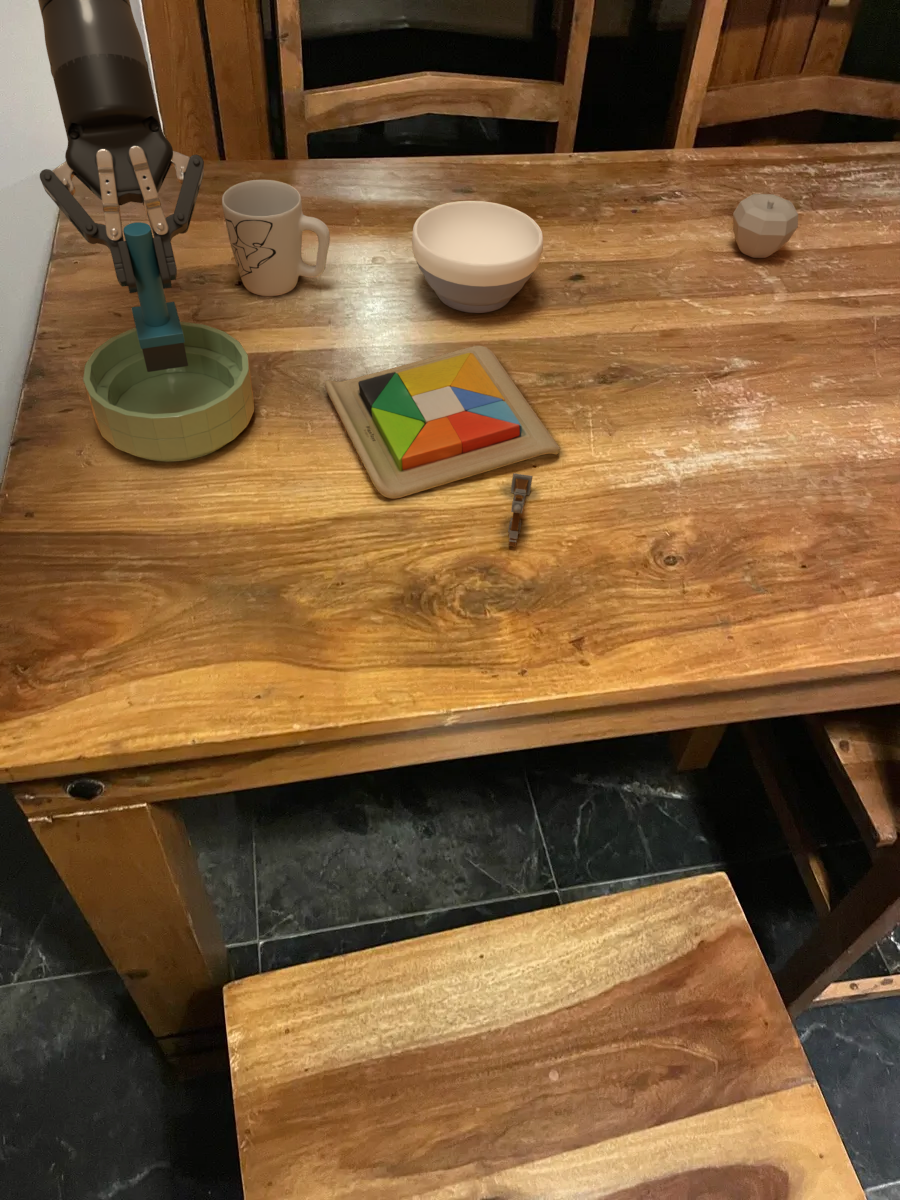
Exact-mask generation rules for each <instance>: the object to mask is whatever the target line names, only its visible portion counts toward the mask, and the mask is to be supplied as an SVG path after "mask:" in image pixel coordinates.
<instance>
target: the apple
mask: <svg viewBox="0 0 900 1200" xmlns="http://www.w3.org/2000/svg"><path fill="white" fill-rule="evenodd" d="M798 228H799V212H798V211H797V209H796V207H795V205H794V203H793V202H792V201H791V200H789V199H787V198H783V197H781V196H780V195H777V194H774V193H752V194H751V195H748V196H747V197H745V198H744V199H742V200H740V201H739V203H738V205H737V206H736V208H735V210H734V211H733V213H732V232H733V235H734V239H735V242H736V245H737V248H738V249H739V251H740V252H741V253H742V254H744V255H745V256H747V257H751V258H753V259H766V258H768V257H770V256H771V255H773V254H775V253H776V252H778V251H779V250H780V249H782V248H783V247H784V246H785V245H786V244H787V243H788V242H789V241H790V239H791V238H792V237H793V235H794V233H795V232H796V231H797V229H798Z"/></svg>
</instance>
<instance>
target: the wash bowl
mask: <svg viewBox="0 0 900 1200" xmlns="http://www.w3.org/2000/svg"><path fill="white" fill-rule="evenodd" d="M180 324H181V327H182V331H183V335H184V340H185V342H184V346H185V351H186V356H187V362H188V366H184V367H178V368H171V369H165V370H159V371H152V372H147V368H146V364H145V359H144V355H143V351H142V349H141V348H140V343H139V339H138V335H137V330H136V327H133V328H130V329H127V330H125V331H123V332H121V333H119V334H116V335H114V336H112V337H110V338H108V339H107V340H106V341H105V342H103V343H101V345H100V346H98V347H97V348H95V349H94V351H93V352H92V353H91V355H90V357H89V359H87V361H86V363H85V365H84V369H83V378H82V381H83V385H84V388H85V392H86V395H87V399H88V402H89V405H90V408H91V412H92V415H93V418H94V421H95V424H96V427H97V428H98V431H99V433H100V435H101V437H102V438H103V439H105V440H106V441H107V442H108V443H109V444H111V446H113V447H114V448H115V449H117V450H119V451H122V452H125V453H127V454H129V455H131V456H135V457H137V458H141V459H145V460H150V461H156V462H182V461H188V460H195V459H198V458H201V457H205V456H207V455H210V454H212V453H214V452H217V451H218V450H220V449H222V448H224V447H225V446H226V445H228V444H229V443H230V442H232V441H233V440H235V439H236V438H237V437H238V436H239V435H240V434H241V433H242V432H243V431H244V430H245V429H246V428H247V427H248V425H249V423H250V421H251V419H252V417H253V414H254V412H255V398H254V389H253V383H252V375H251V374H252V373H251V367H250V361H249V355H248V353H247V352H246V350H245V348H244V347H243V345H242V344H241V342H240V341H239V340H238V339H236V338H234V337H233V336H232V335H230V334H229V333H227V332H226V331H224V330H222V329H218V328H216V327H213V326H210V325H207V324H203V323H196V322H188V321H180Z"/></svg>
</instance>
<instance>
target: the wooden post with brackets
mask: <svg viewBox="0 0 900 1200" xmlns="http://www.w3.org/2000/svg"><path fill="white" fill-rule="evenodd" d="M511 478H512V479H511V485H510V486H511V487H510V493H511V494H513V498H512V502H511V509H510V512H511V513H513V514H512V517H510V520H509V524H508V529H507V530H508V531H507V532H508V533H509V534H508V546H510V547H516V546H517V541H518V537H519V535H520V534H521V529H522V528H521V527H522V518H520V516H521V514H523V510H524V506H525V501H526V496H530V495H531V488H532V483H533V475H530V474H521V473H512V477H511Z"/></svg>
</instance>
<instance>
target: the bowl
mask: <svg viewBox="0 0 900 1200" xmlns="http://www.w3.org/2000/svg"><path fill="white" fill-rule="evenodd" d="M411 233H412V234H411V246H412V247H411V248H412V249H411V250H412V254H413V257H414V259H415V262H416V264H417V266H418V269H419V270H420V272H421V273H422V274H423V277H424V280H425V281H426V282H427V284H428V285H429V287H430V288H431V289H432V290H433V291H434V293H435V295H436V296H437V298H438V299H439V301H440V302H441V303H443V304H444V305H446V307H448V308H451V309H453V310H456V311H459V312H462V313H463V312H464V313H468V314H469V313H471V314H483V313H490V312H494V311H497V310H499V309H502V308H503V307H505V306H506V305H507V304H508V303H509V302H510V301H511V300H512V298H513V297H514V296H515V295H517V294H518V293H519V292H520V291H521V290H522V289H523V287H525V284H526V283H527V282H528V281H529V280H530V279H531V277H532V275H533V274H534V272H535V271H536V270H537V267H539V265H540V262H541V258H542V254H543V249H544V236H543V234H544V233H543V231H542V229H541V227H540V226H539V224H538V223H537V222H536V220H534V219H533V218H532V217H531V216H529V215H527V214H526V213H525V212H523V211H520V210H518V209H516V208H514V207H512V206H508V205H505V204H501V203H497V202H491V201H486V200H458V201H451V202H450V201H449V202H446V203H442V204H438V205H436V206H433V207H431V208H429V209H427V210H426V211H424V212H423V213H421V215H420V216H418V218H417V219H416V220H415V221H414V224H413V228H412V232H411Z"/></svg>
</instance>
